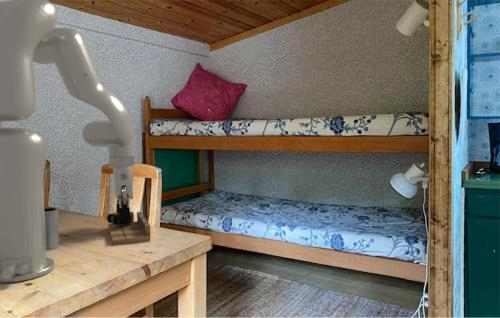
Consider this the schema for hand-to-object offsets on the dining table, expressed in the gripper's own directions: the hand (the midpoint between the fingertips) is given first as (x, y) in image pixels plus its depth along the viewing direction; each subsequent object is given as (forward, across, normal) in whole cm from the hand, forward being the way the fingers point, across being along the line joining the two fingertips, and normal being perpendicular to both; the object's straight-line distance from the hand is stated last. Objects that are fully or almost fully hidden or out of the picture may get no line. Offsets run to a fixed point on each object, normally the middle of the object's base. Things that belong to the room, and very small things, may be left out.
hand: (123, 217), depth 116 cm
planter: (+4, -10, +20) cm, 23 cm away
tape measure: (+2, 0, +1) cm, 2 cm away
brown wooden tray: (+4, -6, -1) cm, 7 cm away
